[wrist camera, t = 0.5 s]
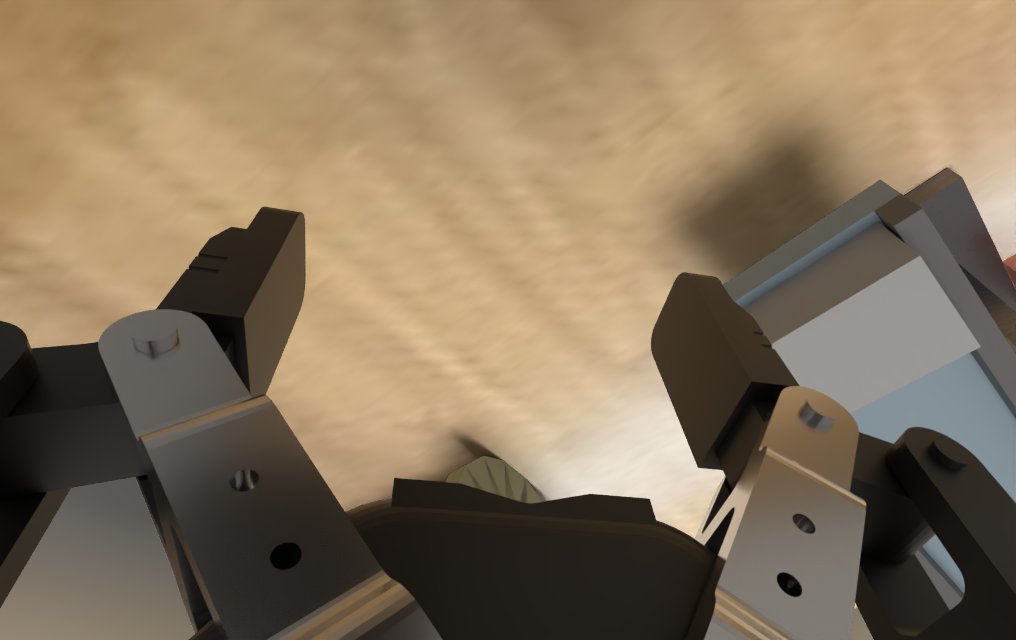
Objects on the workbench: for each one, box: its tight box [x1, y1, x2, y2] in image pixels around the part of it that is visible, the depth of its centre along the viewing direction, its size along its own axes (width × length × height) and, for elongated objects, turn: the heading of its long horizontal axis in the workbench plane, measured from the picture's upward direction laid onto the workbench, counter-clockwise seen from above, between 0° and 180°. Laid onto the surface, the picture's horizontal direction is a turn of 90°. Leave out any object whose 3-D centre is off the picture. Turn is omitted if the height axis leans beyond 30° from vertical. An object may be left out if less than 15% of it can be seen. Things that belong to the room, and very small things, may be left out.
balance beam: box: [723, 180, 1016, 610], centre depth 28 cm, size 32×11×5 cm, turn 44°
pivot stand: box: [905, 168, 1016, 354], centre depth 32 cm, size 14×18×13 cm
